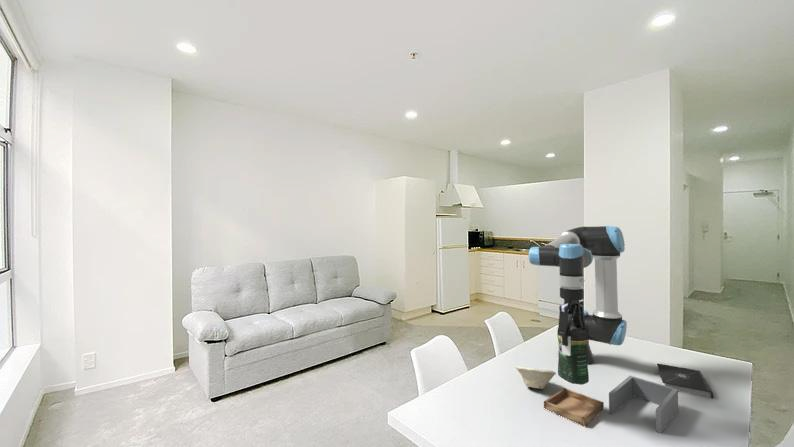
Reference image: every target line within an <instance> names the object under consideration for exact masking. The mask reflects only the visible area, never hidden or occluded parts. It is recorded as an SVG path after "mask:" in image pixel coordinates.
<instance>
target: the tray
mask: <svg viewBox="0 0 794 447" xmlns="http://www.w3.org/2000/svg"><path fill="white" fill-rule="evenodd" d="M604 404H605V403H604V401H601V400H599V399H595V398H593V397H591V396H588V395H584V394H583V393H579V392H576V391H574V390H571V389H568V388H566V387H563V388H562V389H560V390H559V391H557V392H556V393H555V394H553V395H551V396H549V397H548V398H547V399H545V400H544V401H543V409H544V408H545V409H547V410H549V411H551V412H550V413H552V412H554V413H556V414H558V415H557V416H559V415H560V416H559V417H561V416H562V417H561V418H563V417H564V418H563V419H565V418H567V419H566V420H568V419H569V420H568V421H570V420H571V421H570V422H572V421H574V422H573V423H575V422H576V423H575V424H577V423H578V424H577V425H579V424H580V425H579V426H581V425H582V427H584V426H585V427H586V426H587V425H589V424H590V423H591V422H592V421H593V420H594V419H595V418H596V417H598V416H597V415H598V414H599V415H600V414H601V413H602V412H603V411H604V410H605V409H604V407H605V406H604ZM545 409H544V410H545ZM547 410H546V411H547ZM549 411H548V412H549ZM554 413H553V414H554ZM556 414H555V415H556ZM590 421H591V422H590ZM589 422H590V423H589ZM588 423H589V424H588Z"/></svg>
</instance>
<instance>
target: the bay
mask: <svg viewBox="0 0 794 447" xmlns="http://www.w3.org/2000/svg"><path fill="white" fill-rule="evenodd" d="M633 397H635V398H637V399H640V400H641V399H642V400H643V401H647V402H650V403H653V404H656V405H658V406H657V407H656V408H655V422H656V423H655V428H656V430H655V431H656V432H657V433H660V434H662V432H663V431H664V430H665V429H666V427H667V426H668V425H669V424H670V422H671V421H672V419H673V418H674V416H675V415H676V413H678V411H679V391H678V389H674V388H671V387H668V386H665V385H663V384H660V383H657V382H654V381H650V380H646V379H643V378H640V377H636V376H634V375H628V376H627V377H626V378H625V379H623V381H621V382H620V383H619V384H617V386H616V387H614V388H613V389H612V390H610V391H609V392H608V410H609V411H608V412H609V414H610V415H612V416H613V415H615V414H616V413H617V412H618V411H619V410H620V409H621V408H622V407H623V406H624V405H625V404H626V403H628V401H630V400H631V399H632V398H633Z"/></svg>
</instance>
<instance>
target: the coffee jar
mask: <svg viewBox="0 0 794 447" xmlns="http://www.w3.org/2000/svg"><path fill="white" fill-rule="evenodd" d="M556 335H557V336H556V337H557V340H558V351H559V356H558V360H557V361H558V363H557V366H558V367H557V375H558V376H559V378H561V379H563V380H564V381H566V382H568V383H570V384H573V385H574V384H575V385H580V386H581V385H582V386H583V385H585V384H587V383H589V381H590V376H589V366H588V365H589V364H587V343H588V336H587V332H586V331H585V330H582V329H578V328H576V327H573V326H571V328H570V333H569V336H571V356H569V355H565V354H562V335H559V334H558V331H557V334H556Z"/></svg>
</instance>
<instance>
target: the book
mask: <svg viewBox="0 0 794 447" xmlns="http://www.w3.org/2000/svg"><path fill="white" fill-rule="evenodd" d="M656 365H657V368H658V369H657V370H658V372H659V375H660V376H659V377H660V379H661V382H662V384H664V386H668V387H671V388H674V389H678V392H683V393H687V394H692V395H698V396H701V397H708V398H710V399H714V392H713V391H712V388H711V386H710V385H709V384H708V382H707V381H706V379H705V377H704V376H703V373H702V372H701V371H700V370H699V369H694V368H693V369H691V368H685V367H679V366H674V365H668V364H662V363H656Z"/></svg>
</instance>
